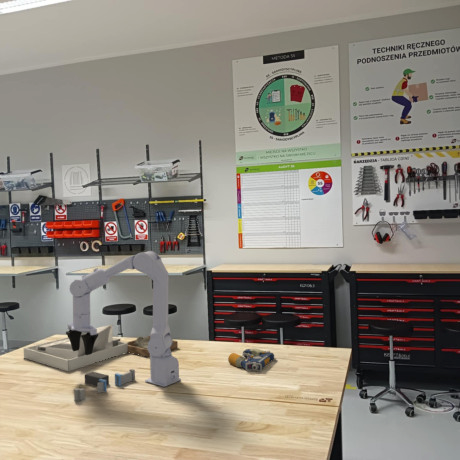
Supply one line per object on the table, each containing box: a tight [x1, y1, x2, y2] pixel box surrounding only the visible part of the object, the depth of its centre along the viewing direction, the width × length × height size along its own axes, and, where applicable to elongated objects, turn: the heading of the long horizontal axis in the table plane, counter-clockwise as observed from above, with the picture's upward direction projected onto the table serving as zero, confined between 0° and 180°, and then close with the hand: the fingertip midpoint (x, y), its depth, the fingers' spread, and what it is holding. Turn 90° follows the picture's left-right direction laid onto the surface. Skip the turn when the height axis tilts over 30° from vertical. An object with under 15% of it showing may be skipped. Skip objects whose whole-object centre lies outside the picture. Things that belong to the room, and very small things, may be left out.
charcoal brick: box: [84, 371, 110, 387], centre depth 151 cm, size 8×3×3 cm, turn 57°
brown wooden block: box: [126, 335, 179, 358], centre depth 191 cm, size 17×16×3 cm
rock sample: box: [134, 336, 150, 349], centre depth 190 cm, size 10×8×9 cm
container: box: [36, 324, 121, 360], centre depth 186 cm, size 22×25×12 cm
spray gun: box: [227, 348, 275, 372], centre depth 169 cm, size 21×4×15 cm
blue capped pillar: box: [73, 368, 136, 403], centre depth 145 cm, size 3×22×4 cm, turn 143°
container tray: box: [23, 336, 128, 372], centre depth 186 cm, size 31×28×4 cm
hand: (82, 352), depth 156 cm, fingers open, 7 cm apart
